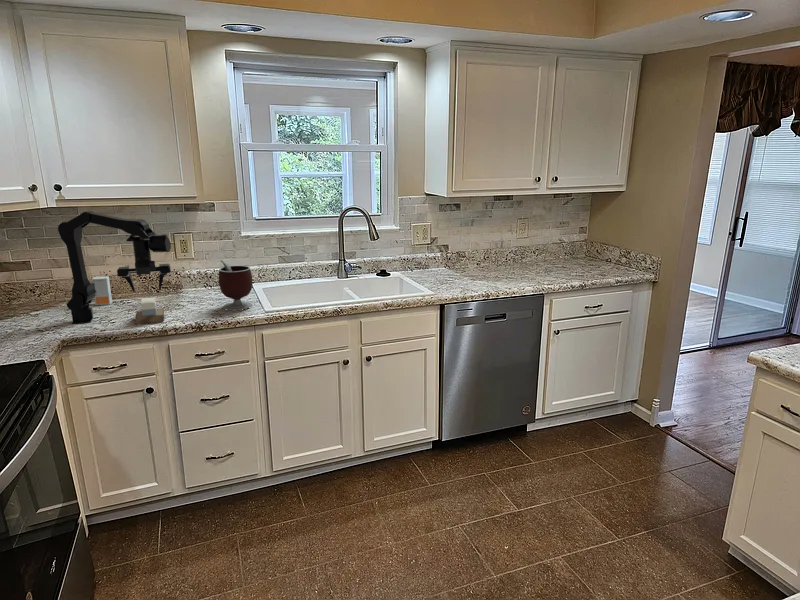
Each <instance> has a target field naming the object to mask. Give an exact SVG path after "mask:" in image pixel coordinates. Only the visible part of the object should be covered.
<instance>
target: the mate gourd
mask: <svg viewBox="0 0 800 600" xmlns="http://www.w3.org/2000/svg"><path fill="white" fill-rule="evenodd" d="M220 262H221V263H222V264H223V267H220V268H218V287H219V289H220V292H221V293H222V294H223V296H224V297H226V298H228V299H232V300H233V301H232V302H228V303H225V304H223V306H222V309H223V308H224V309H227V310H226V311H228V310H241V311H243V310H242V309H246V310H248V309H247V308H249V307H251V306H252V307H253V303H252V302H249V301H242V300H241V299H243V298H245V297H247V296H249V294H250V293H251V292H252V290H253V274H252V270H251V267H250V266H249V265H248V266H247V265H230V264H229V263H228V262H227V261H225V260H223V259H220ZM252 307H251V308H252ZM224 309H223V310H224ZM249 309H250V308H249Z"/></svg>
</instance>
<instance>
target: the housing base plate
mask: <svg viewBox="0 0 800 600" xmlns="http://www.w3.org/2000/svg"><path fill="white" fill-rule="evenodd" d="M157 309H158V307H157V305H156V309H146V310H142V316H148V315H156V313H157Z"/></svg>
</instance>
